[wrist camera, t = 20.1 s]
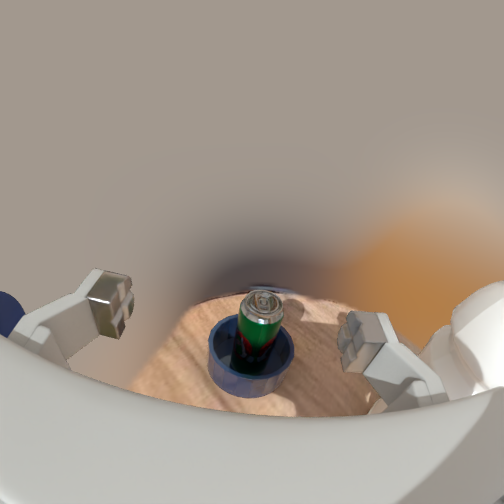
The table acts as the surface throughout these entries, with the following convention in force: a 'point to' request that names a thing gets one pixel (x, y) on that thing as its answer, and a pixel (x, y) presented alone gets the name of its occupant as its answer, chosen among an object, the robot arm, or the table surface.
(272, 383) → the bowl
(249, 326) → the soda can
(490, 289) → the bottle
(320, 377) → the table surface
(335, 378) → the table surface
